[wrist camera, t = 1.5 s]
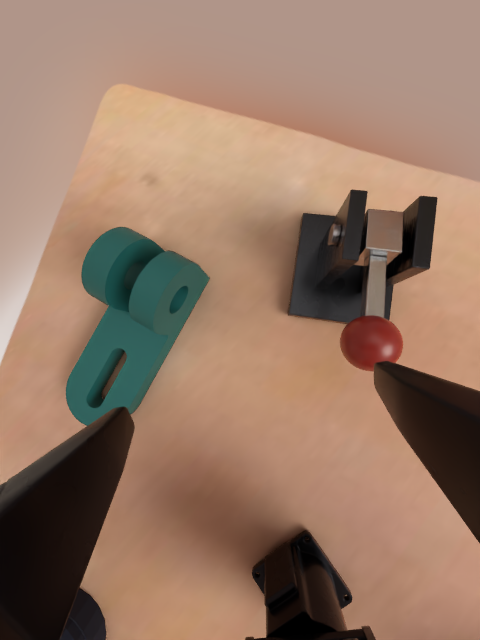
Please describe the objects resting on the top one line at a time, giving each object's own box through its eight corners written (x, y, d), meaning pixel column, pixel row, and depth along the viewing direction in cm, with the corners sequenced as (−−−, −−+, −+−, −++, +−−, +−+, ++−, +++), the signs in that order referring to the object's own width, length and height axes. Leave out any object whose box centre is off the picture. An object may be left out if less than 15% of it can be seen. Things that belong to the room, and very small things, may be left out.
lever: (384, 375, 17) (415, 375, 13) (331, 367, 17) (348, 364, 14) (391, 237, 19) (419, 207, 15) (343, 232, 19) (361, 202, 16)
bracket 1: (155, 249, 27) (110, 211, 19) (209, 278, 26) (186, 251, 18) (71, 398, 26) (-10, 422, 19) (123, 432, 26) (61, 473, 18)
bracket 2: (382, 329, 24) (462, 321, 14) (287, 315, 25) (301, 299, 15) (394, 227, 25) (479, 154, 15) (301, 218, 26) (323, 144, 16)
